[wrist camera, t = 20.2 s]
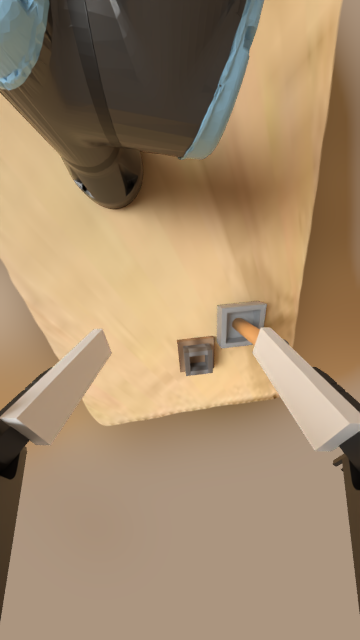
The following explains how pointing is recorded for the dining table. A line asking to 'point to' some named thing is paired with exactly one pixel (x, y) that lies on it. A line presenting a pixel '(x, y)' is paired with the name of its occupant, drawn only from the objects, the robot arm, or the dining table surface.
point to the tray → (229, 312)
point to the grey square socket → (196, 355)
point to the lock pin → (247, 330)
